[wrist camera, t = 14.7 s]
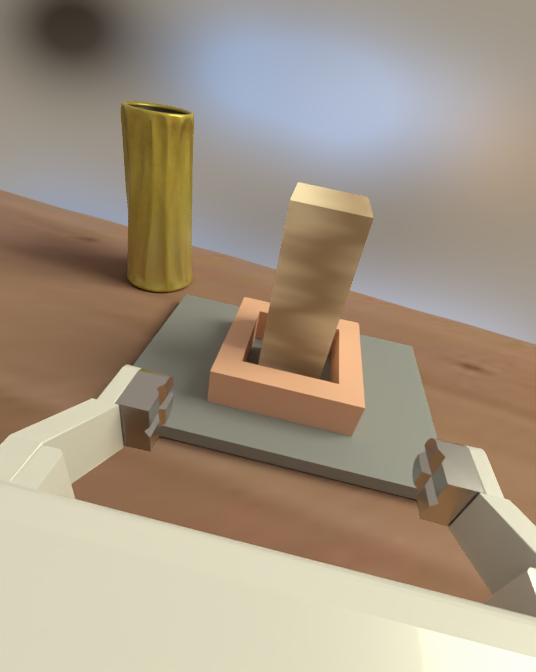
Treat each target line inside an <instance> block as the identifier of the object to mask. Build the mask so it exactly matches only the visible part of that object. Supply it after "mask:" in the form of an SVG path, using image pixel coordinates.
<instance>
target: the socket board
mask: <svg viewBox="0 0 536 672" xmlns="http://www.w3.org/2000/svg"><path fill="white" fill-rule="evenodd" d="M269 306H270V303H268V302H264V301H259V300H255V299H251V298H246V297H244V299H243V301H242V304H241V306H240V307H239V306H235V305H231V304H226V303H222V302H218V301H213V300H209V299H205V298H200V297H196V296H192V295H187V294H186V296H185V297H184V298H183V300H182V301H181V302H180V303H179V305H178V306H177V307H176V309H175V310H174V311H173V313H172V314H171V315H170V317H169V318H168V319H167V321H166V322H165V323H164V325H163V326H162V327H161V329H160V330H159V331H158V333H157V334H156V335H155V337H154V338H153V339H152V341H151V342H150V343H149V345H148V346H147V347H146V349H145V350H144V351H143V352H142V354H141V355H140V356H139V358H138V359H137V360H136V362H135V363H134V364H133V366H135V367H139V368H144V369H147V370H151V371H155V372H159V373H163V374H166V375H170V376H172V377H173V384H174V385H173V387H172V389H171V390H170V391H171V393H172V394H173V405H172V409H171V412H170V415H169V418H168V420H167V422H166V423H165V424H164V425H162V426H160V435H159V436H161V437H165V438H169V439H173V440H177V441H181V442H185V443H189V444H193V445H197V446H201V447H205V448H209V449H214V450H218V451H222V452H226V453H230V454H234V455H238V456H242V457H246V458H250V459H254V460H258V461H262V462H266V463H270V464H274V465H278V466H282V467H286V468H290V469H294V470H298V471H302V472H306V473H310V474H314V475H318V476H322V477H326V478H330V479H334V480H338V481H342V482H346V483H350V484H354V485H358V486H362V487H366V488H370V489H374V490H378V491H382V492H386V493H390V494H395V495H399V496H403V497H407V498H411V499H415V500H416V497H417V496H418V494H419V493H420V492H419V490H418V489H417V488H416V486H415V485H414V483H413V477H412V469H413V464H414V461H415V459H416V457H417V456H418V454H420V453H422V452H424V451H425V446H424V445H425V443H426V442H427V440H428V439H430V438H435V439H437V435H436V432H435V428H434V425H433V421H432V417H431V414H430V410H429V406H428V403H427V399H426V396H425V392H424V388H423V385H422V381H421V377H420V374H419V370H418V367H417V363H416V359H415V356H414V352H413V348H412V346H409V345H404V344H400V343H396V342H391V341H387V340H383V339H378V338H374V337H370V336H365V335H361V334H360V333H359V323H355V322H351V321H347V320H342V319H340V320H339V323H338V326H337V329H336V332H335V335H334V338H333V341H332V344H331V347H330V350H329V353H328V355H327V358H326V361H325V364H324V367H323V370H322V373H321V376H320V379H315V378H311V377H307V376H303V375H299V374H294V373H290V372H286V371H282V370H277V369H273V368H269V367H265V366H261V365H258V363H259V358H260V353H261V347H262V342H263V337H264V332H265V327H266V322H267V316H268V311H269Z"/></svg>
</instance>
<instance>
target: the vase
mask: <svg viewBox="0 0 536 672" xmlns="http://www.w3.org/2000/svg"><path fill="white" fill-rule="evenodd" d="M121 122H122V135H123V149H124V165H125V181H126V193H127V203H128V223H129V224H128V268H127V277H128V280H129V281H130V282H131V283H132V284H133V285H135V286H136V287H139V288H141V289H144V290H147V291H152V292H173V291H177V290H180V289H183V288H185V287H186V286H188V285H189V284H190V283H191V281H192V279H193V276H192V258H191V246H192V245H191V243H192V163H193V134H194V115H193V113H192V112H190V111H187V110H184V109H181V108H176V107H172V106H166V105H161V104H155V103H148V102H139V101H123V102H122V103H121Z"/></svg>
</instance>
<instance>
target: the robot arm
mask: <svg viewBox="0 0 536 672" xmlns="http://www.w3.org/2000/svg"><path fill="white" fill-rule="evenodd" d="M173 385H174V384H173V377H172V376H170V375H166V374H163V373H159V372H155V371H151V370H147V369H144V368H139V367H135V366H131V365H125V366H123V367H122V368H121V369H120V371H119V372H118V373H117V374H116V376H115V377H114V378H113V379H112V381H111V382H110V383H109V384H108V386H107V387H106V388H105V389H104V391H103V392H102V393H101V395H100V396H99V397H98V398H97V399H93V398H92V399H89V400H87V401H85V402H83V403H80V404H78V405H76V406H74V407H72V408H69V409H67V410H65V411H63V412H60V413H58V414H56V415H54V416H51V417H49V418H47V419H45V420H42V421H40V422H38V423H36V424H33V425H31V426H29V427H27V428H24V429H22V430H20V431H18V432H15V433H13V434H11V435H9V436H8V437H7V438H6V440H5V441H4V442H3V443H2V444H1V445H0V672H536V527H535V525H534V524H533V523H532V522H531V521H530V520H529V519H528V518H527V517H526V516H525V515H524V514H523V513H522V512H521V511H520V510H519V509H518V508H517V507H516V506H515V505H514V504H513V503H512V502H511V501H510V500H507V499H504V497H503V494H502V492H501V490H500V487H499V485H498V482H497V480H496V477H495V475H494V472H493V470H492V468H491V465H490V463H489V460H488V458H487V455H486V453H485V452H484V451H483V450H482V449H479V448H475V447H470V446H466V445H462V444H457V443H453V442H449V441H444V440H440V439H435V438H430V439H428V440H427V442H426V443H425V445H424V446H425V451H424V452H422V453H420V454H418V456H417V457H416V459H415V461H414V464H413V469H412V477H413V483H414V485H415V486H416V488H417V489H418V490H419V492H420V493H419V494H418V496H417V497H416V500H417V505H418V510H419V515H420V519H423V520H427V521H431V522H434V523H438V524H441V525H445V526H449V530H450V531H451V533H452V534H453V536H454V537H455V539H456V540H457V542H458V543H459V545H460V546H461V548H462V549H463V551H464V552H465V554H466V555H467V557H468V558H469V560H470V561H471V563H472V564H473V566H474V567H475V569H476V570H477V572H478V573H479V575H480V576H481V578H482V579H483V581H484V582H485V584H486V585H487V587H488V588H489V590H490V591H491V593H492V594H493V595H492V596H490V597H489V598H488V599H486V600H485V601H484V602H482V603H478V602H474V601H470V600H466V599H462V598H459V597H455V596H451V595H447V594H443V593H439V592H435V591H431V590H427V589H423V588H420V587H416V586H412V585H408V584H404V583H400V582H396V581H392V580H388V579H385V578H381V577H377V576H373V575H369V574H365V573H361V572H357V571H353V570H349V569H346V568H342V567H338V566H334V565H330V564H326V563H322V562H318V561H314V560H311V559H307V558H303V557H299V556H295V555H291V554H287V553H283V552H279V551H275V550H271V549H267V548H264V547H260V546H256V545H252V544H248V543H244V542H240V541H236V540H232V539H228V538H224V537H221V536H217V535H213V534H209V533H205V532H201V531H197V530H193V529H189V528H186V527H182V526H178V525H174V524H170V523H166V522H162V521H158V520H154V519H151V518H147V517H143V516H139V515H135V514H131V513H127V512H123V511H119V510H115V509H112V508H108V507H104V506H100V505H96V504H92V503H88V502H84V501H80V500H77V499H75V496H74V493H73V489H72V486H71V484H72V483H73V482H75V481H76V480H77V479H79V478H80V477H82V476H83V475H85V474H86V473H87V472H89V471H90V470H92V469H93V468H95V467H96V466H98V465H99V464H100V463H102V462H103V461H105V460H106V459H108V458H109V457H111V456H112V455H113V454H115V453H116V452H118V451H119V450H121V449H122V448H123V447H124V446H127V447H132V448H137V449H141V450H146V451H150V452H151V450H152V448H153V446H154V444H155V443H156V441H157V439H158V437H159V435H160V426H162V425H164V424H165V423H166V422H167V420H168V418H169V415H170V412H171V409H172V405H173V394H172V393H171V391H170V390H171V389H172V387H173Z"/></svg>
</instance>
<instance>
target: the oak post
mask: <svg viewBox="0 0 536 672" xmlns="http://www.w3.org/2000/svg"><path fill="white" fill-rule="evenodd" d="M372 221H373V214H372V210H371V206H370V202H369V198H368V197H365V196H360V195H355V194H351V193H346V192H341V191H337V190H332V189H328V188H323V187H318V186H313V185H309V184H304V183H298V184H297V186H296V188H295V190H294V192H293V195H292V197H291V199H290V203H289V208H288V213H287V218H286V223H285V228H284V234H283V239H282V244H281V249H280V255H279V259H278V265H277V270H276V275H275V280H274V285H273V290H272V296H271V301H270V306H269V311H268V316H267V322H266V327H265V332H264V337H263V342H262V347H261V353H260V358H259V363H258V365H261V366H265V367H269V368H273V369H277V370H282V371H286V372H290V373H294V374H299V375H303V376H307V377H311V378H315V379H320V376H321V373H322V370H323V367H324V364H325V361H326V358H327V355H328V353H329V350H330V347H331V344H332V341H333V338H334V335H335V332H336V329H337V326H338V323H339V320H340V317H341V314H342V311H343V308H344V305H345V302H346V299H347V296H348V293H349V290H350V287H351V284H352V281H353V278H354V275H355V272H356V269H357V266H358V263H359V260H360V257H361V254H362V251H363V248H364V245H365V242H366V239H367V236H368V233H369V230H370V227H371V224H372Z"/></svg>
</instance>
